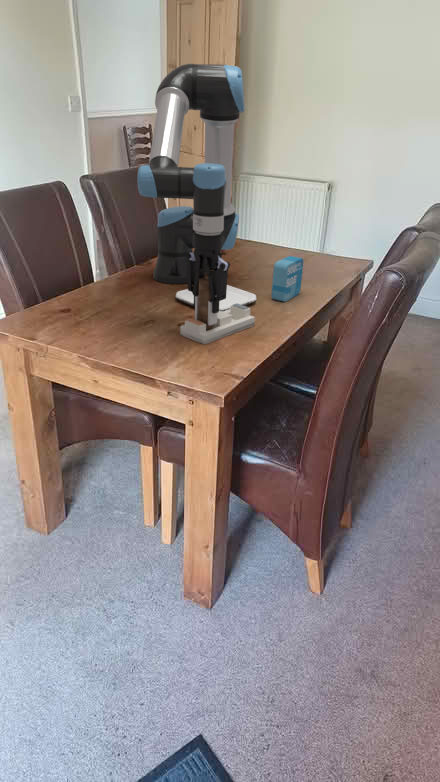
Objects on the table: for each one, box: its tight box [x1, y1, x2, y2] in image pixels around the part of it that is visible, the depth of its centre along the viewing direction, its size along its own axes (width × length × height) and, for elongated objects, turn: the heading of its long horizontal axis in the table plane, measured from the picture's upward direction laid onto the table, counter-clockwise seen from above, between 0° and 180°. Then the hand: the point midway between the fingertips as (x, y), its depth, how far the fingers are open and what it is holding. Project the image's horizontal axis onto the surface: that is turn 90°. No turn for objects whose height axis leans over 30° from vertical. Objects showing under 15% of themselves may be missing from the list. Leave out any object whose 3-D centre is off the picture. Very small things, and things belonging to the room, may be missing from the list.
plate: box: [175, 284, 257, 312], centre depth 176 cm, size 21×21×2 cm
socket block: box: [179, 303, 256, 346], centre depth 154 cm, size 9×20×5 cm, turn 137°
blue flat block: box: [271, 255, 304, 303], centre depth 179 cm, size 12×4×12 cm, turn 147°
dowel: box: [198, 276, 213, 331], centre depth 148 cm, size 4×4×14 cm
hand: (205, 321), depth 150 cm, fingers open, 4 cm apart
